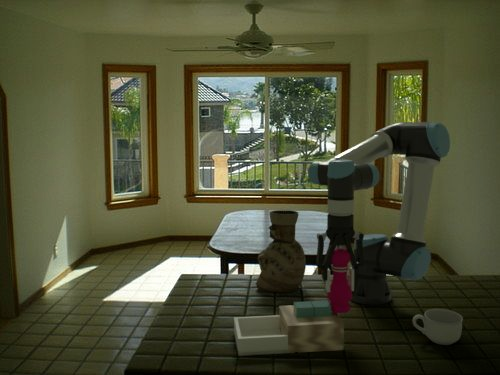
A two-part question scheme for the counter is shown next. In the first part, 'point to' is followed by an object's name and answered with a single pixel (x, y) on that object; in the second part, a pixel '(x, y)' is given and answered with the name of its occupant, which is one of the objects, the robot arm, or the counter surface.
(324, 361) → the counter surface
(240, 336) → the tray
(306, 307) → the tile
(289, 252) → the ceramic vessel
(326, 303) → the tile
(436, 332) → the teacup
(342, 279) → the pepper mill
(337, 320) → the light wood block
